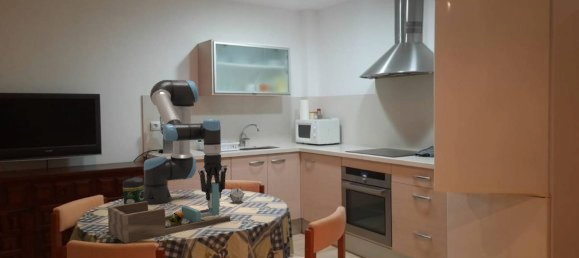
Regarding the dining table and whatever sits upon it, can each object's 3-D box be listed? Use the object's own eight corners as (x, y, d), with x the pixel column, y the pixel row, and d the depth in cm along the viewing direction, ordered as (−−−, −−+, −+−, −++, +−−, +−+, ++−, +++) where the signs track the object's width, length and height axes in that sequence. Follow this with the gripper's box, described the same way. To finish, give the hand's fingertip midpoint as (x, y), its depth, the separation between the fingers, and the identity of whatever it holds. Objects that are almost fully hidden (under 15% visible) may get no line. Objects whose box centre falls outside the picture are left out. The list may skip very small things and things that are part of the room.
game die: (239, 210, 213) (241, 197, 207) (224, 204, 215) (226, 191, 209) (246, 199, 220) (248, 186, 214) (232, 193, 222) (234, 180, 216)
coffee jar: (130, 216, 188) (129, 176, 188) (147, 216, 188) (146, 176, 187) (120, 222, 179) (119, 179, 178) (138, 222, 178) (137, 179, 177)
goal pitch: (108, 231, 164) (107, 206, 164) (208, 213, 193) (208, 191, 192) (124, 243, 150) (123, 215, 149) (230, 221, 178) (229, 198, 178)
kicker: (181, 218, 181) (180, 184, 181) (209, 213, 190) (208, 181, 189) (196, 225, 171) (195, 188, 170) (225, 219, 179) (224, 184, 179)
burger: (161, 223, 177) (161, 206, 176) (190, 221, 180) (189, 204, 179) (160, 231, 165) (160, 212, 165) (190, 228, 168) (190, 210, 168)
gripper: (200, 156, 174) (201, 211, 175) (232, 153, 185) (233, 205, 186) (191, 155, 180) (193, 208, 181) (223, 152, 191) (225, 202, 192)
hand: (213, 206), depth 183 cm, fingers closed on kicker, 3 cm apart
